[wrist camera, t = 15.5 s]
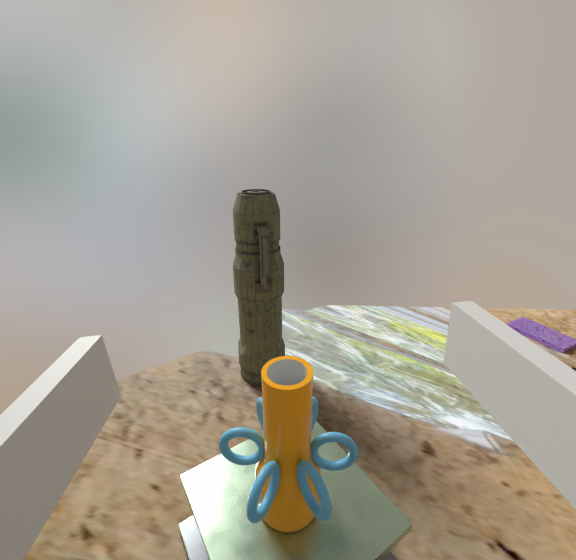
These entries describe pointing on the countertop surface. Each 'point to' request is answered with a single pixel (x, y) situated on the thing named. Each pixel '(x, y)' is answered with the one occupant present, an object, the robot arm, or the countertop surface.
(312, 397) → the cylinder
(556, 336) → the sponges
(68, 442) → the robot arm
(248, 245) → the thermos
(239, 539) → the grey green pedestal stand
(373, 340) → the countertop surface
